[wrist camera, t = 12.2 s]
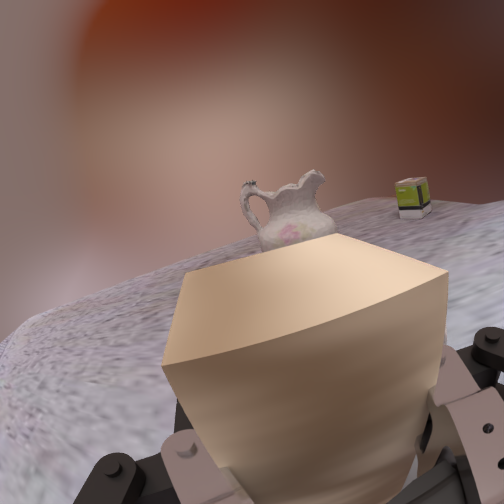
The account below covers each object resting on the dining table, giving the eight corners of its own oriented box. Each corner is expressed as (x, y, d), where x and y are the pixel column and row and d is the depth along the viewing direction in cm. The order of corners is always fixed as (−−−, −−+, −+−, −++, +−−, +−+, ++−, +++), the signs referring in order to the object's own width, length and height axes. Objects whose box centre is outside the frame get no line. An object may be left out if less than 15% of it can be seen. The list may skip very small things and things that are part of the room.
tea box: (411, 211, 106) (407, 178, 103) (432, 211, 98) (427, 176, 94) (399, 219, 98) (393, 182, 95) (421, 219, 90) (416, 180, 86)
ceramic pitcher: (259, 299, 62) (232, 188, 54) (257, 267, 80) (236, 181, 73) (352, 277, 61) (337, 167, 53) (329, 251, 79) (315, 165, 72)
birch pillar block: (352, 429, 11) (336, 232, 9) (397, 498, 6) (448, 271, 4) (256, 460, 11) (185, 273, 8) (277, 542, 6) (161, 366, 4)
